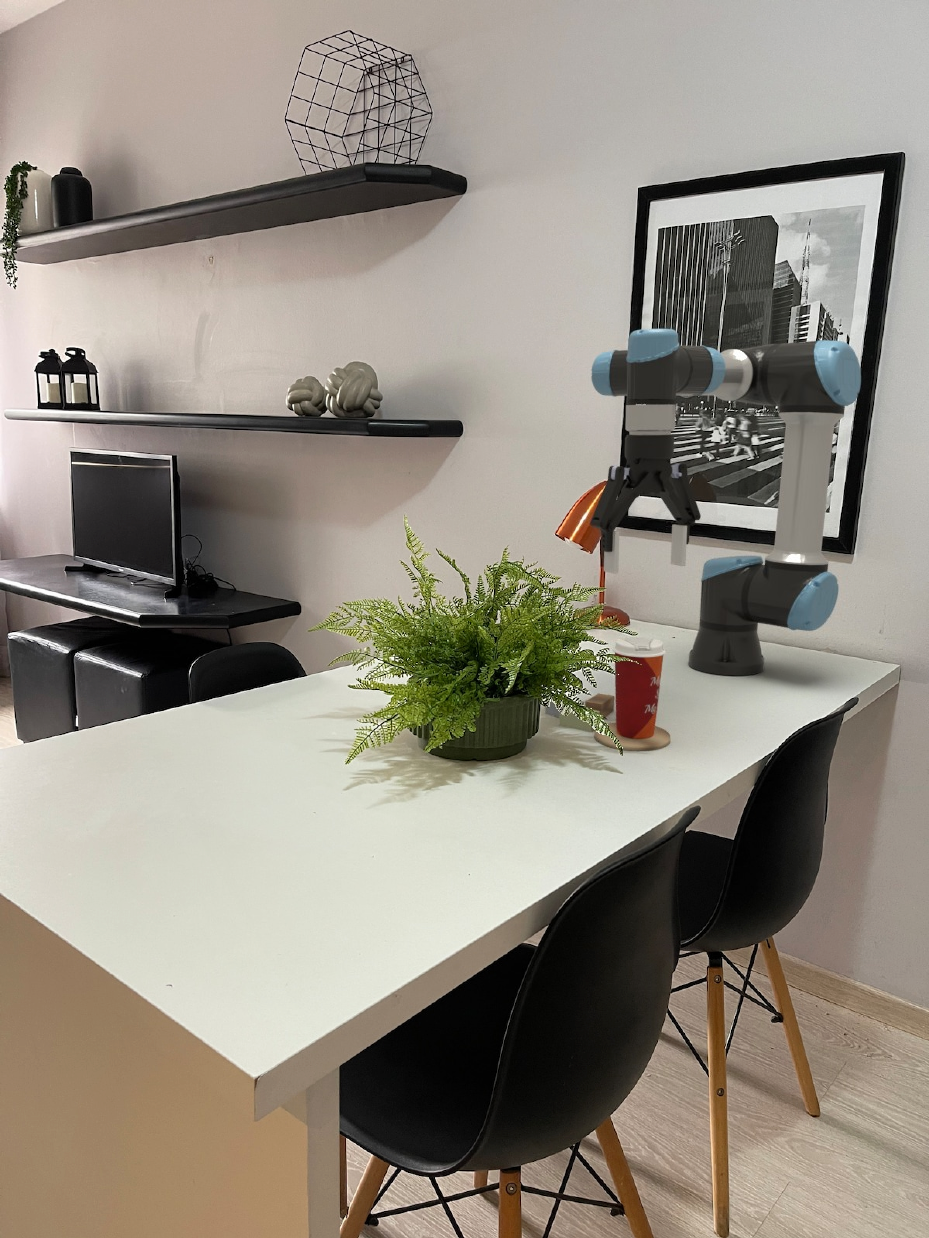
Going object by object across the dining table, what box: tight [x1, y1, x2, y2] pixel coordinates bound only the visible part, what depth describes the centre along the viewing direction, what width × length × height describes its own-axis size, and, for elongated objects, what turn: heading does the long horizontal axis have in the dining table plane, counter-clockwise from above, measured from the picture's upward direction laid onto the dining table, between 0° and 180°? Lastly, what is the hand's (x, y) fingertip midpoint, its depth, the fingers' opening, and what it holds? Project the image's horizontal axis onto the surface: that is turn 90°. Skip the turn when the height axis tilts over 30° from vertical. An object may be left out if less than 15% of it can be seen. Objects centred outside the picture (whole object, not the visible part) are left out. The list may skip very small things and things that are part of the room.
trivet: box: [593, 721, 671, 752], centre depth 151 cm, size 12×12×1 cm
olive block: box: [558, 710, 600, 733], centre depth 157 cm, size 6×3×3 cm, turn 54°
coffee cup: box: [612, 636, 667, 739], centre depth 150 cm, size 8×8×15 cm
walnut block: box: [584, 692, 616, 718], centre depth 164 cm, size 6×3×3 cm, turn 150°
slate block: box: [545, 700, 585, 719], centre depth 163 cm, size 6×3×3 cm, turn 43°
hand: (645, 568), depth 151 cm, fingers open, 13 cm apart
